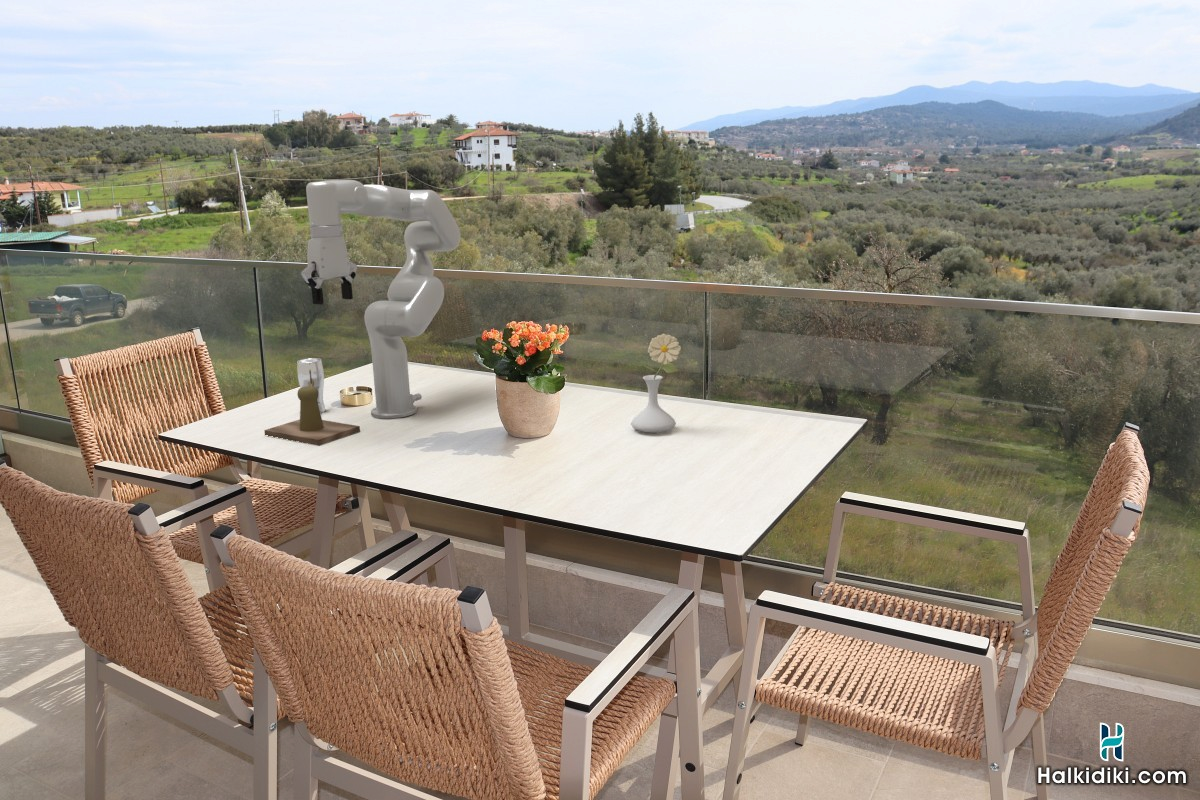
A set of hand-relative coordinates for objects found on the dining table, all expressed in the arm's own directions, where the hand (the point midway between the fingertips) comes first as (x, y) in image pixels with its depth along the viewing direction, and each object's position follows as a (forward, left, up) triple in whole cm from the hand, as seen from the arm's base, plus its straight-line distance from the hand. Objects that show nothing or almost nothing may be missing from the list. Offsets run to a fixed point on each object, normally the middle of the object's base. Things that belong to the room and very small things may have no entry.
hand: (333, 301), depth 230 cm
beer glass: (-11, -24, -34) cm, 43 cm away
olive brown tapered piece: (+5, -7, -33) cm, 34 cm away
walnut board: (+5, -7, -34) cm, 35 cm away
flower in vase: (-37, +72, -34) cm, 88 cm away
